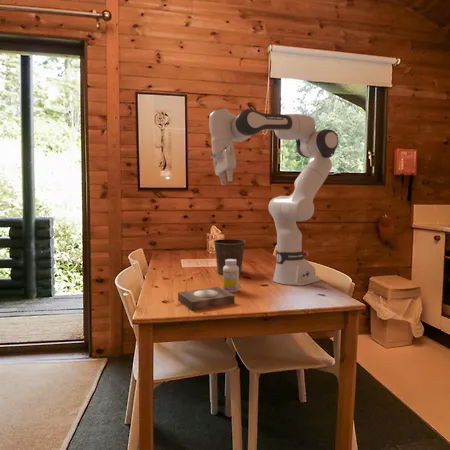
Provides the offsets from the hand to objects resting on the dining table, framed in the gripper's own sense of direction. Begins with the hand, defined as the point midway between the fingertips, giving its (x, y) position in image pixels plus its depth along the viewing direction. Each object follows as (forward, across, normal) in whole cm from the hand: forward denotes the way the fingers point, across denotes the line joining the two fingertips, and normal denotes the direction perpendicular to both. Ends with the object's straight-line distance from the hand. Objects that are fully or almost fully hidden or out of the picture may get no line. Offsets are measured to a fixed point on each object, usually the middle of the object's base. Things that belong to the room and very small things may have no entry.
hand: (226, 183), depth 141 cm
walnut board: (+44, -9, +16) cm, 48 cm away
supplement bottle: (+44, +3, +3) cm, 45 cm away
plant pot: (+42, +34, -6) cm, 54 cm away
